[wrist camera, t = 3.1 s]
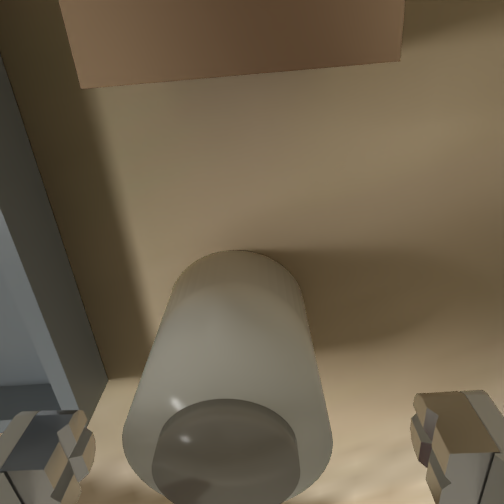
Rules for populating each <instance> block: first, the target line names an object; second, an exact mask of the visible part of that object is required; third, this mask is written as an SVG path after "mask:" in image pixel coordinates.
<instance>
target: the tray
mask: <svg viewBox="0 0 504 504" xmlns="http://www.w3.org/2000/svg"><path fill="white" fill-rule="evenodd" d="M107 382H108V379H107V375H106V372H105V369H104V366H103V363H102V360H101V357H100V354H99V351H98V348H97V345H96V342H95V339H94V336H93V333H92V330H91V327H90V324H89V321H88V318H87V315H86V312H85V309H84V306H83V303H82V300H81V297H80V294H79V291H78V288H77V285H76V282H75V279H74V276H73V273H72V270H71V266H70V263H69V260H68V257H67V254H66V251H65V248H64V245H63V242H62V239H61V236H60V233H59V230H58V227H57V224H56V221H55V218H54V215H53V212H52V209H51V206H50V203H49V200H48V197H47V194H46V191H45V188H44V185H43V182H42V179H41V176H40V173H39V170H38V167H37V164H36V161H35V158H34V154H33V151H32V148H31V145H30V142H29V139H28V136H27V133H26V130H25V127H24V124H23V121H22V118H21V115H20V112H19V109H18V106H17V103H16V100H15V97H14V94H13V91H12V88H11V85H10V82H9V79H8V76H7V73H6V70H5V67H4V64H3V61H2V58H1V55H0V433H3V432H4V431H5V429H6V428H7V426H8V425H9V424H10V422H11V421H12V419H13V418H14V417H15V416H16V415H17V414H19V413H20V412H22V411H52V410H83V411H84V413H85V415H86V417H87V422H86V424H85V427H86V428H87V426H88V424H89V422H90V419H91V417H92V415H93V413H94V411H95V408H96V406H97V404H98V402H99V400H100V397H101V395H102V393H103V391H104V389H105V387H106V384H107Z"/></svg>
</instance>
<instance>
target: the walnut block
mask: <svg viewBox="0 0 504 504" xmlns="http://www.w3.org/2000/svg"><path fill="white" fill-rule="evenodd" d="M58 1H59V5H60V9H61V13H62V17H63V21H64V24H65V28H66V32H67V36H68V40H69V44H70V48H71V52H72V56H73V60H74V64H75V67H76V71H77V75H78V79H79V83H80V87H81V89H87V88H98V87H109V86H121V85H132V84H144V83H155V82H167V81H178V80H190V79H201V78H213V77H224V76H236V75H247V74H259V73H270V72H282V71H293V70H305V69H316V68H327V67H339V66H350V65H362V64H373V63H385V62H396V61H400V58H401V45H402V33H403V21H404V9H405V0H58Z"/></svg>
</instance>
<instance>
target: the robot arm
mask: <svg viewBox="0 0 504 504" xmlns="http://www.w3.org/2000/svg"><path fill="white" fill-rule="evenodd" d="M413 406H414V408H415V411H416V414H415V415H414V416H413V417H412V418H411V425H410V431H411V440H412V444H413V448H414V451H415V453H416V456H417V459H418V461H419V462H421V463H422V464H423V465H424V466H425V467H427V474H426V481H427V484H428V486H429V489H430V491H431V493H432V496H433V498H434V501H435V503H436V504H504V417H503V415H502V414H501V412H500V411H499V409H498V408H497V407H496V405H495V404H494V402H493V401H492V399H491V398H490V397H489V395H488V394H487V393H486V392H485V391H483V390H473V391H460V392H458V391H451V392H434V393H417V394H416V395H415V397H414V402H413ZM86 422H87V417H86V415H85V413H84V411H83V410H52V411H22V412H20V413H19V414H17V415H16V416H15V417H14V418H13V419H12V421H11V422H10V424H9V425H8V426H7V428H6V429H5V431H4V432H3V434H2V435H1V436H0V504H76V503H77V501H78V499H79V496H80V494H81V488H80V484H79V482H80V481H81V480H82V479H83V478H84V477H85V476H86V475H88V474H89V472H90V470H91V467H92V465H93V462H94V457H95V451H96V445H95V438H94V435H93V433H92V432H91V431H90V430H88V429H87V428H86V427H85V424H86Z"/></svg>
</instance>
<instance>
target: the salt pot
mask: <svg viewBox="0 0 504 504" xmlns="http://www.w3.org/2000/svg"><path fill="white" fill-rule="evenodd" d="M122 441H123V449H124V453H125V456H126V458H127V460H128V463H129V464H130V466H131V467H132V469H133V470H134V472H135V473H136V474H137V475H138V476H139V477H140V479H141V480H143V481H144V482H145V483H146V484H147V485H148V486H149V487H151V488H152V489H154V490H155V491H157V492H158V493H160V494H162V495H164V496H165V497H166V498H168V499H169V500H170V501H171V502H173V503H174V504H281V503H282V502H284V501H286V500H288V499H291V498H293V497H295V496H296V495H298V494H300V493H301V492H303V491H304V490H306V489H307V488H308V487H310V486H311V485H312V484H313V483H314V482H315V481H316V480H317V479H318V478H319V477H320V476H321V474H322V473H323V472H324V470H325V468H326V466H327V464H328V463H329V460H330V457H331V454H332V446H333V440H332V432H331V427H330V422H329V418H328V413H327V408H326V404H325V399H324V394H323V390H322V385H321V380H320V375H319V371H318V366H317V361H316V357H315V352H314V347H313V342H312V338H311V333H310V328H309V324H308V319H307V314H306V309H305V305H304V300H303V296H302V292H301V290H300V287H299V285H298V283H297V282H296V280H295V279H294V277H293V276H292V275H291V274H290V272H289V271H288V270H287V269H285V268H284V267H283V266H282V265H281V264H279V263H278V262H276V261H275V260H273V259H271V258H269V257H267V256H264V255H261V254H258V253H254V252H250V251H241V250H229V251H222V252H217V253H213V254H210V255H207V256H205V257H203V258H201V259H199V260H197V261H195V262H194V263H193V264H191V265H190V266H188V267H187V268H186V269H185V270H184V271H183V272H182V274H181V275H180V276H179V278H178V279H177V281H176V282H175V284H174V286H173V289H172V292H171V295H170V298H169V300H168V303H167V306H166V309H165V312H164V315H163V317H162V320H161V323H160V326H159V329H158V331H157V334H156V337H155V340H154V343H153V345H152V348H151V351H150V354H149V357H148V360H147V362H146V365H145V368H144V371H143V374H142V376H141V379H140V382H139V385H138V388H137V391H136V393H135V396H134V399H133V402H132V405H131V407H130V410H129V413H128V416H127V419H126V422H125V424H124V428H123V434H122Z"/></svg>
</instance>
